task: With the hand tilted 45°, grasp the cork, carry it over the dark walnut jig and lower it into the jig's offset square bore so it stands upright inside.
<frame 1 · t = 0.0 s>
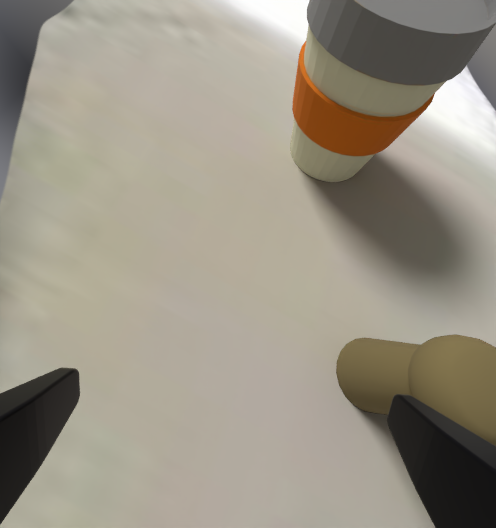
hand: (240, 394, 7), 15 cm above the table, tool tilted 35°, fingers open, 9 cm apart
reusable coffee cup: (325, 152, 30), on the table
cork: (368, 373, 22), on the table
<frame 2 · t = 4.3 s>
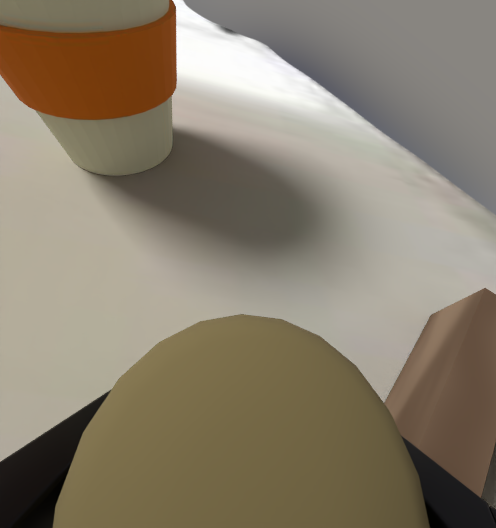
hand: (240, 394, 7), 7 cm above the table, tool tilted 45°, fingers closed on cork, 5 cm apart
walnut jig: (494, 525, 11), on the table
reusable coffee cup: (123, 145, 23), on the table
cork: (227, 440, 12), on the table, touching gripper
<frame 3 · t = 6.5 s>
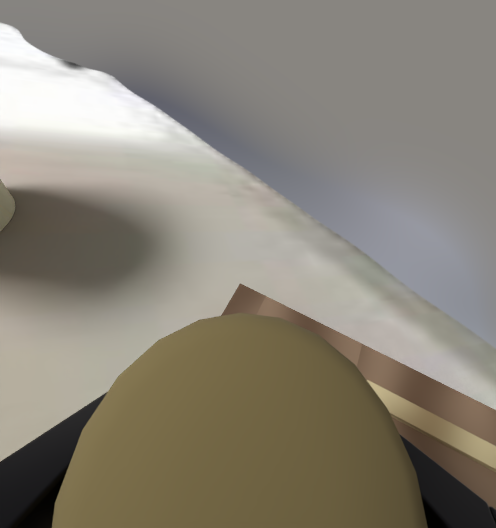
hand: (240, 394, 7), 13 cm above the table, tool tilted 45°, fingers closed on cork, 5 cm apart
walnut jig: (259, 434, 18), on the table
cork: (226, 438, 12), point 6 cm above the table, touching gripper
when the fingers open (7 cm above the table, at t = 9.0 s): cork stays where it is, resting in walnut jig.
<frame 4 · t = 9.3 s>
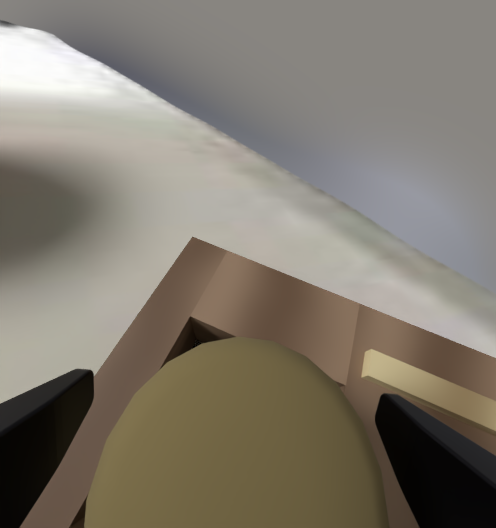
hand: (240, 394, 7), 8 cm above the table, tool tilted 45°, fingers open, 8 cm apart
walnut jig: (226, 438, 13), on the table
cork: (226, 441, 13), resting in walnut jig
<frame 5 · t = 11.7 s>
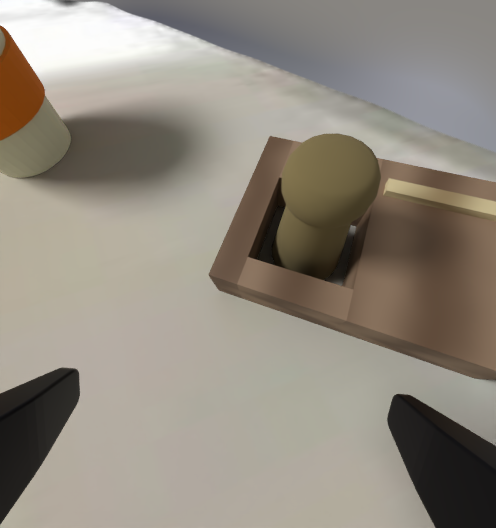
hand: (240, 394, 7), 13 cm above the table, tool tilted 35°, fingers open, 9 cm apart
walnut jig: (305, 250, 22), on the table
reusable coffee cup: (35, 149, 30), on the table
cork: (304, 252, 23), resting in walnut jig
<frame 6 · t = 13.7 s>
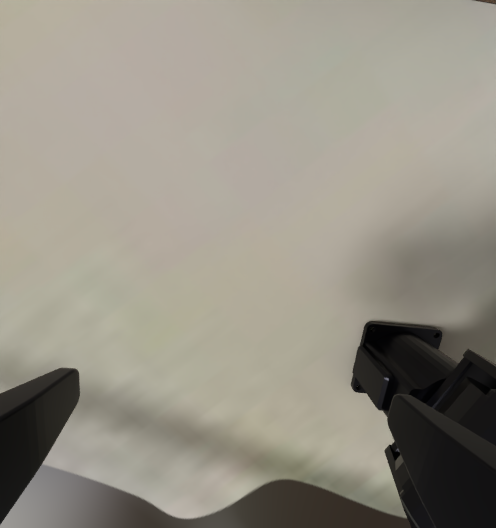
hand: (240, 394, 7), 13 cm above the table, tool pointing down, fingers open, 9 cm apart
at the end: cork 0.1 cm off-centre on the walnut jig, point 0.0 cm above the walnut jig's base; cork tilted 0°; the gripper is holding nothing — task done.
